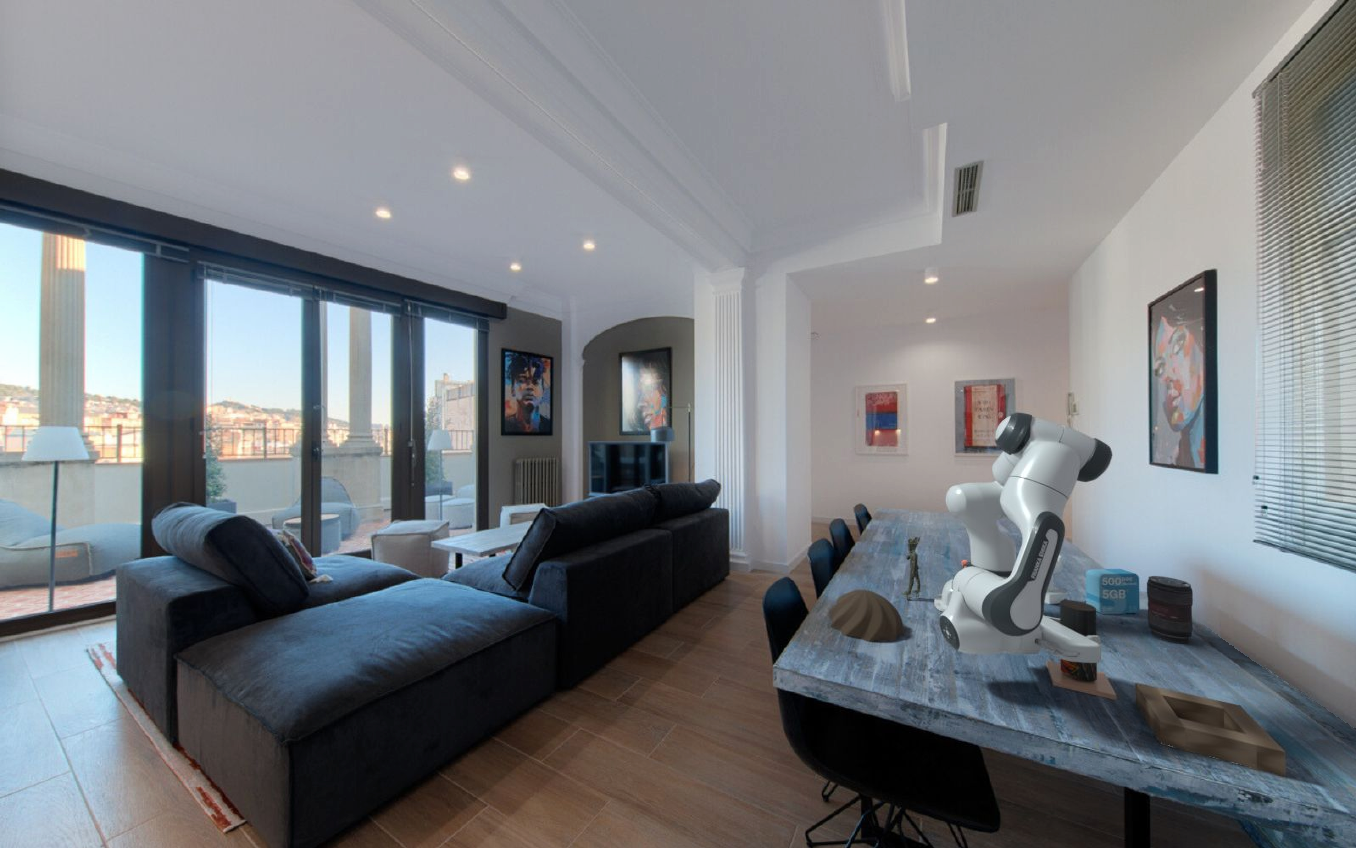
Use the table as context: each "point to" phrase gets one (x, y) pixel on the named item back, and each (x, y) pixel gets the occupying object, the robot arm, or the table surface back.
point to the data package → (1112, 591)
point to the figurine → (1053, 593)
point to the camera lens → (1170, 609)
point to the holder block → (1209, 728)
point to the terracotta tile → (1081, 682)
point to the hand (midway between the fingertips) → (1082, 631)
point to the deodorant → (1082, 622)
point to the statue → (913, 567)
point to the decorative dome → (866, 617)
